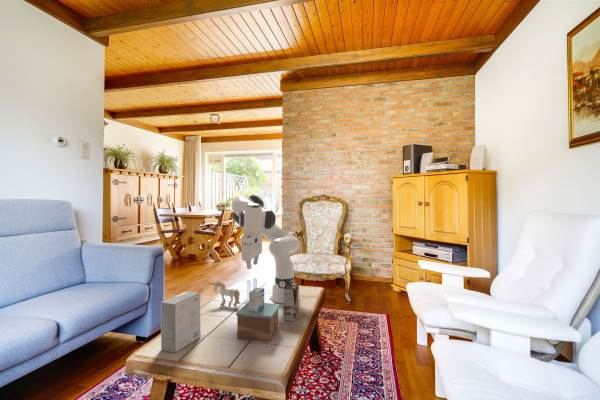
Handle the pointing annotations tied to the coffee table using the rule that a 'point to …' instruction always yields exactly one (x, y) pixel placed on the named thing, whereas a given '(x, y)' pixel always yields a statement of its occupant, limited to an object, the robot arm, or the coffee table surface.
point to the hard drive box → (180, 321)
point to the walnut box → (257, 328)
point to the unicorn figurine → (227, 292)
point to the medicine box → (256, 299)
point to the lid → (264, 312)
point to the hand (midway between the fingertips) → (252, 266)
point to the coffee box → (291, 302)
